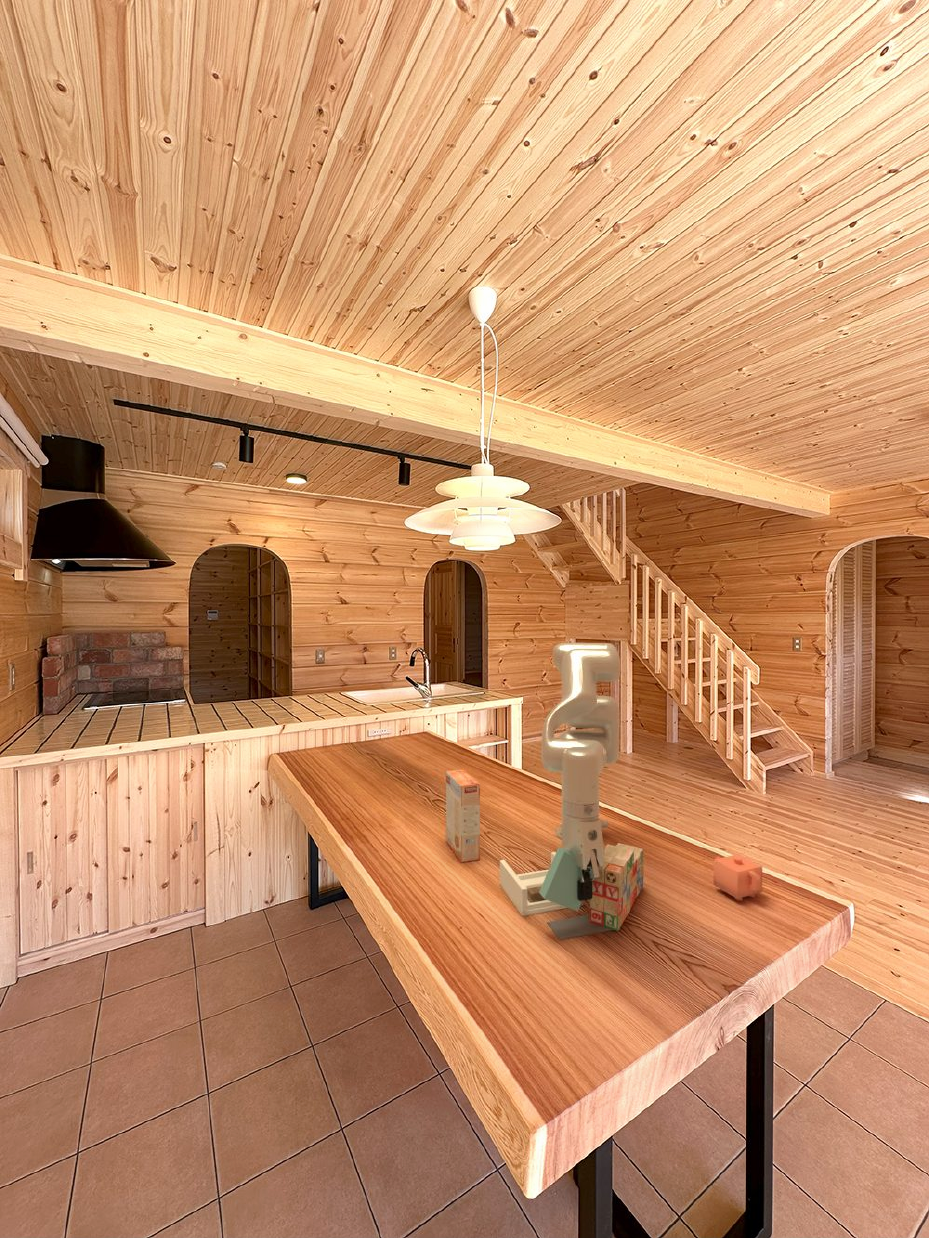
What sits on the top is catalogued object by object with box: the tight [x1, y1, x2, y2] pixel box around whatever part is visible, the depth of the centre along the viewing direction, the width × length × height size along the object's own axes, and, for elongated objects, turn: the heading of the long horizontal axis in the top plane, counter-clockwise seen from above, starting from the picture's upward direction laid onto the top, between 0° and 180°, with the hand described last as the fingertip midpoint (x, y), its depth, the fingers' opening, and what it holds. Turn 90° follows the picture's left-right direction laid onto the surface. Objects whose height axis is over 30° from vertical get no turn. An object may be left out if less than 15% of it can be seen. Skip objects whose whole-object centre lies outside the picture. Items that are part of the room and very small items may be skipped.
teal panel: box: [539, 846, 589, 912], centre depth 108 cm, size 10×2×8 cm
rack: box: [499, 851, 585, 917], centre depth 122 cm, size 15×14×6 cm
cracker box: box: [445, 769, 481, 863], centre depth 145 cm, size 14×6×21 cm, turn 18°
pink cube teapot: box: [713, 854, 763, 902], centre depth 123 cm, size 8×12×8 cm, turn 21°
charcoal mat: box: [546, 913, 615, 941], centre depth 110 cm, size 13×6×1 cm, turn 107°
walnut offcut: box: [527, 886, 546, 903], centre depth 118 cm, size 4×2×2 cm, turn 107°
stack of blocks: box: [589, 842, 644, 931], centre depth 118 cm, size 21×6×12 cm, turn 148°
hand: (581, 894), depth 109 cm, fingers closed on teal panel, 2 cm apart
